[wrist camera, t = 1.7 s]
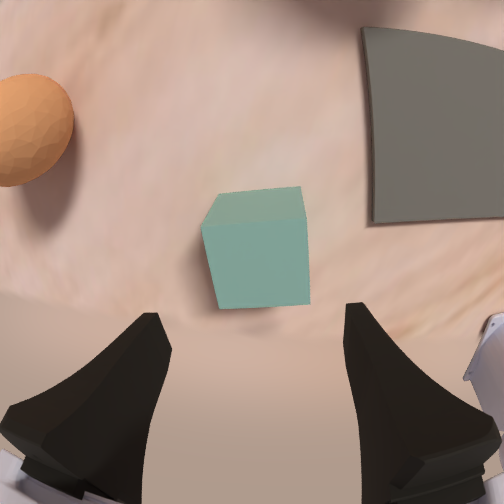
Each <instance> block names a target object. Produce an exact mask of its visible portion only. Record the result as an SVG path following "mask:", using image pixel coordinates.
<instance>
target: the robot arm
mask: <svg viewBox="0 0 504 504" xmlns="http://www.w3.org/2000/svg"><path fill="white" fill-rule="evenodd" d="M343 347H344V355H345V363H346V369H347V374H348V378H349V382H350V386H351V391H352V395H353V400H354V404H355V409H356V413H357V419H358V426H359V437H360V450H361V473H362V504H504V472H502V473H500V474H498V475H496V476H494V477H492V478H490V479H488V480H486V481H484V482H483V479H482V475H483V474H484V473H485V469H484V465H483V463H484V462H485V461H487V460H488V459H489V458H490V457H491V456H492V455H493V454H494V453H495V452H496V451H497V450H498V449H499V457H500V462H501V465H502V468H503V470H504V434H503V436H502V437H501V436H500V433H499V431H504V313H500V314H495V315H492V316H491V317H490V319H489V321H488V323H487V326H486V328H485V331H484V333H483V336H482V338H481V340H480V342H479V345H478V347H477V349H476V351H475V354H474V356H473V358H472V360H471V362H470V364H469V367H468V368H467V370H466V372H465V374H464V376H463V380H464V381H468V380H470V381H471V383H472V385H473V388H474V390H475V392H476V395H477V397H478V400H479V402H480V405H481V407H482V410H483V412H482V411H480V410H478V409H476V408H474V407H472V406H470V405H469V404H467V403H465V402H464V401H462V400H461V399H459V398H457V397H456V396H454V395H453V394H451V393H450V392H449V391H447V390H446V389H444V388H443V387H442V386H440V385H439V384H438V383H436V382H435V381H434V380H432V379H431V378H430V377H429V376H428V375H426V374H425V373H424V372H423V371H422V370H421V369H420V368H419V367H418V366H416V365H415V364H414V363H413V362H412V361H411V360H410V359H409V358H408V357H407V356H406V355H405V353H404V352H402V350H401V349H400V348H399V347H398V346H397V345H396V344H395V343H394V341H393V340H392V339H391V338H390V337H389V335H388V334H387V333H386V332H385V331H384V329H383V328H382V327H381V326H380V324H379V323H378V322H377V321H376V319H375V318H374V317H373V315H372V314H371V313H370V311H369V310H368V308H367V307H366V306H365V304H364V303H363V302H359V303H348V304H346V311H345V325H344V338H343ZM171 352H172V348H171V345H170V343H169V340H168V338H167V335H166V333H165V330H164V328H163V325H162V323H161V320H160V318H159V315H158V313H143V314H142V315H141V316H140V317H139V318H138V319H136V320H135V321H134V322H133V323H132V324H131V325H130V326H129V327H128V328H127V329H126V330H125V331H124V332H123V333H122V334H121V335H119V336H118V338H116V339H115V340H114V341H113V342H112V343H111V344H110V345H109V346H108V347H106V348H105V349H104V350H103V351H102V352H101V353H100V354H99V355H97V356H96V357H95V358H94V359H93V360H92V361H90V362H89V363H88V364H87V365H85V366H84V367H83V368H81V369H80V370H79V371H77V372H76V373H74V374H73V375H72V376H70V377H68V378H67V379H65V380H64V381H62V382H61V383H59V384H57V385H56V386H54V387H52V388H50V389H48V390H47V391H45V392H43V393H41V394H39V395H36V396H34V397H32V398H30V399H27V400H25V401H22V402H19V403H17V404H14V405H11V406H10V407H9V409H8V410H7V412H6V414H5V416H4V418H3V420H2V421H1V423H0V433H1V434H2V435H3V436H4V437H5V438H6V439H7V440H8V441H9V442H10V443H12V444H13V445H14V446H15V447H16V448H17V449H18V450H20V451H21V452H22V453H23V454H24V455H26V457H25V459H24V460H22V459H21V458H19V457H17V456H16V455H14V454H12V453H10V452H9V451H7V450H5V449H2V450H1V452H0V503H1V504H141V503H142V498H141V497H142V475H143V464H144V456H145V449H146V443H147V438H148V432H149V427H150V422H151V419H152V416H153V412H154V409H155V406H156V403H157V401H158V397H159V395H160V392H161V389H162V386H163V383H164V380H165V377H166V374H167V371H168V367H169V362H170V357H171Z"/></svg>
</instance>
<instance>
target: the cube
mask: <svg viewBox="0 0 504 504" xmlns="http://www.w3.org/2000/svg"><path fill="white" fill-rule="evenodd" d="M201 232H202V236H203V241H204V245H205V250H206V254H207V259H208V263H209V268H210V272H211V276H212V281H213V285H214V289H215V293H216V297H217V302H218V306H219V309H237V308H259V307H277V306H294V305H308V304H310V277H309V253H308V233H307V217H306V212H305V207H304V202H303V197H302V192H301V187H300V186H299V187H286V188H274V189H263V190H252V191H242V192H232V193H223V194H219V195H218V196H217V198H216V200H215V202H214V204H213V205H212V207H211V209H210V211H209V213H208V214H207V216H206V218H205V220H204V222H203V223H202V225H201Z"/></svg>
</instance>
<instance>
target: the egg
mask: <svg viewBox="0 0 504 504" xmlns="http://www.w3.org/2000/svg"><path fill="white" fill-rule="evenodd" d="M73 122H74V112H73V108H72V104H71V100H70V98H69V96H68V95H67V93H66V91H65V90H64V89H63V88H62V87H61V86H60V85H59V84H58V83H57V82H55V81H54V80H52V79H50V78H49V77H46V76H42V75H37V74H21V75H16V76H12V77H9V78H7V79H5V80H2V81H0V186H1V187H11V186H17V185H21V184H24V183H27V182H29V181H31V180H33V179H35V178H38V177H39V176H40V175H42V174H43V173H45V172H46V171H48V170H49V169H50V168H51V167H52V166H53V165H54V164H55V163H56V162H57V161H58V159H59V158H60V157H61V155H62V154H63V153H64V151H65V149H66V147H67V145H68V143H69V141H70V138H71V135H72V131H73Z"/></svg>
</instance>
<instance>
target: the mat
mask: <svg viewBox="0 0 504 504" xmlns="http://www.w3.org/2000/svg"><path fill="white" fill-rule="evenodd" d="M361 33H362V40H363V47H364V55H365V63H366V71H367V81H368V92H369V104H370V119H371V138H372V221H373V222H374V223H390V222H407V221H424V220H443V219H463V218H485V217H504V51H503V50H499V49H496V48H493V47H489V46H486V45H482V44H478V43H474V42H470V41H466V40H461V39H457V38H452V37H447V36H441V35H436V34H430V33H423V32H416V31H408V30H400V29H390V28H377V27H362V28H361Z"/></svg>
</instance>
